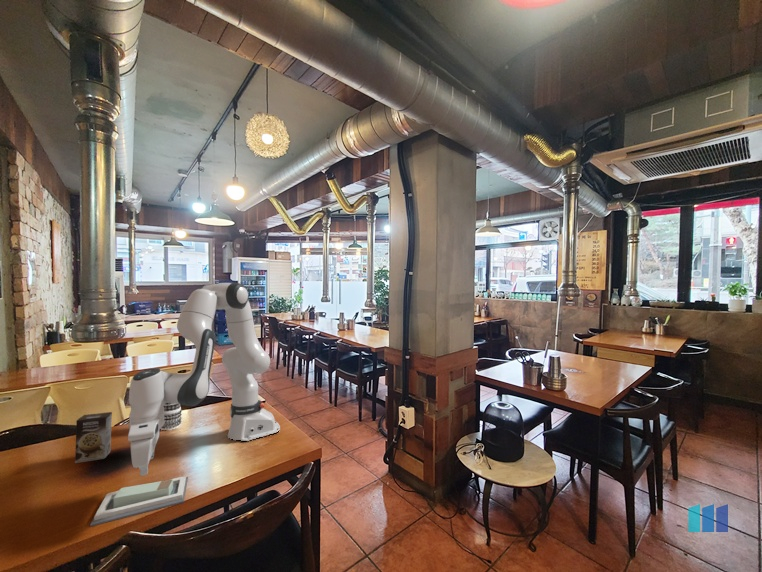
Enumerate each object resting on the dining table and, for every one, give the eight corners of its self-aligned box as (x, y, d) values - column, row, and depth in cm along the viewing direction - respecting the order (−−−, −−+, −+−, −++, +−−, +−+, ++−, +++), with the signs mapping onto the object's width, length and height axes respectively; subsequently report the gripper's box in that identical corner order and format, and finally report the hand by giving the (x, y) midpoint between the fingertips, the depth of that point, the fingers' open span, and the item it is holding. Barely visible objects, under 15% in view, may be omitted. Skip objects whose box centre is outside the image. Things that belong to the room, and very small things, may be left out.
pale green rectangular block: (120, 497, 98) (121, 487, 98) (173, 488, 102) (173, 478, 102) (113, 508, 93) (113, 497, 93) (168, 497, 98) (168, 487, 98)
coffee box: (74, 463, 117) (75, 420, 117) (82, 455, 123) (83, 414, 123) (104, 458, 121) (105, 417, 121) (111, 451, 126) (112, 411, 127)
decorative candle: (182, 421, 155) (183, 371, 156) (182, 428, 148) (183, 375, 148) (159, 425, 151) (161, 373, 151) (158, 432, 143) (159, 378, 143)
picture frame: (187, 478, 109) (187, 473, 109) (183, 502, 96) (183, 497, 96) (106, 496, 99) (106, 491, 99) (90, 526, 86) (90, 520, 86)
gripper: (142, 412, 106) (142, 452, 106) (126, 438, 88) (126, 487, 88) (164, 408, 109) (164, 448, 109) (153, 433, 91) (153, 481, 91)
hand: (147, 466), depth 98 cm, fingers open, 8 cm apart
